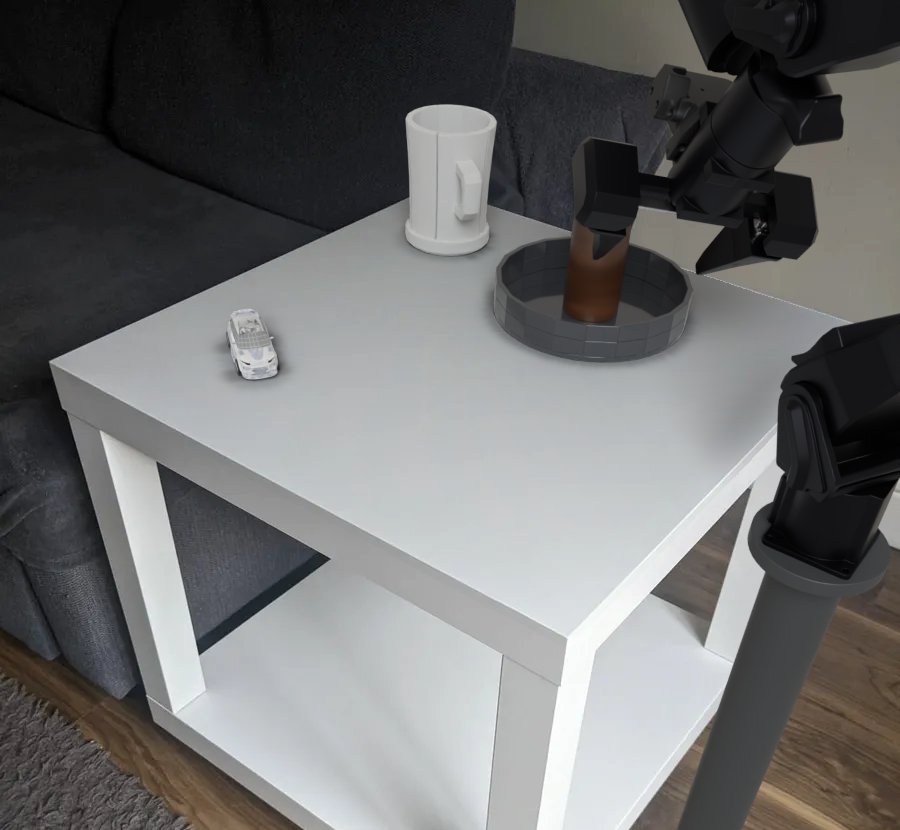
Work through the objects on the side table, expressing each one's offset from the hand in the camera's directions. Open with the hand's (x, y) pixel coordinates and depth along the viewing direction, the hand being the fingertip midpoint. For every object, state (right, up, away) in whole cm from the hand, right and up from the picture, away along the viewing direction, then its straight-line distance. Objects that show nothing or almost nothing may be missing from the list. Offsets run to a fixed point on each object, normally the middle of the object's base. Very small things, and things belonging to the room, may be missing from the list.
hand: (646, 262), depth 81 cm
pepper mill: (-3, 0, +12) cm, 12 cm away
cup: (-16, +10, +23) cm, 29 cm away
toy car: (-33, -7, +5) cm, 34 cm away
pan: (-3, -1, +12) cm, 13 cm away
